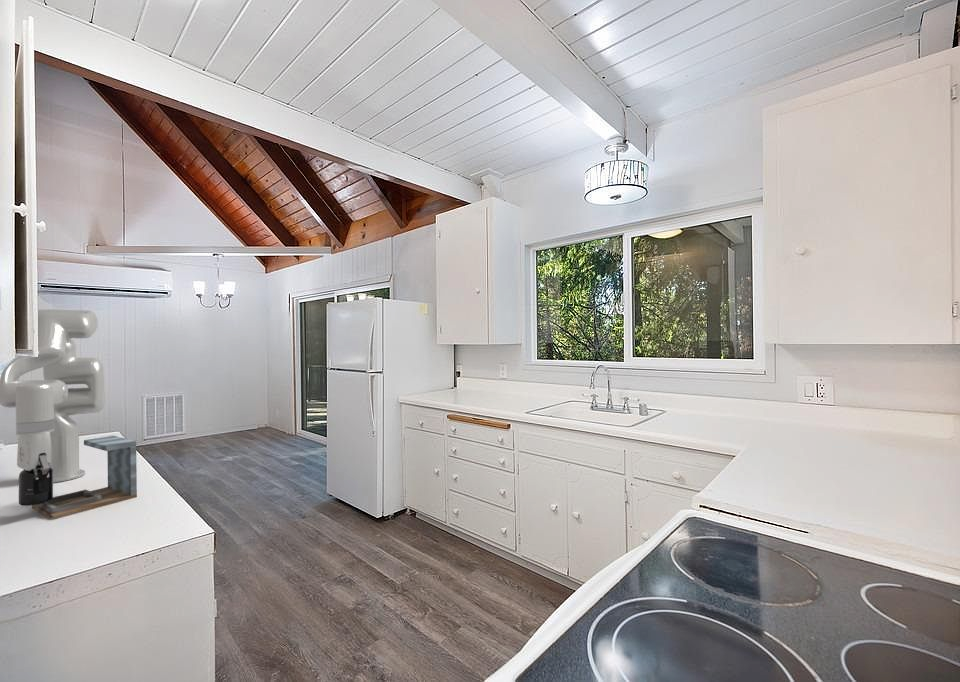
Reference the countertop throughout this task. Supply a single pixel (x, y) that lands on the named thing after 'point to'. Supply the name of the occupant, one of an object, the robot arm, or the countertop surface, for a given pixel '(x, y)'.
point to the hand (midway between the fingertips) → (36, 490)
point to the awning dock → (118, 489)
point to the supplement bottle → (27, 489)
